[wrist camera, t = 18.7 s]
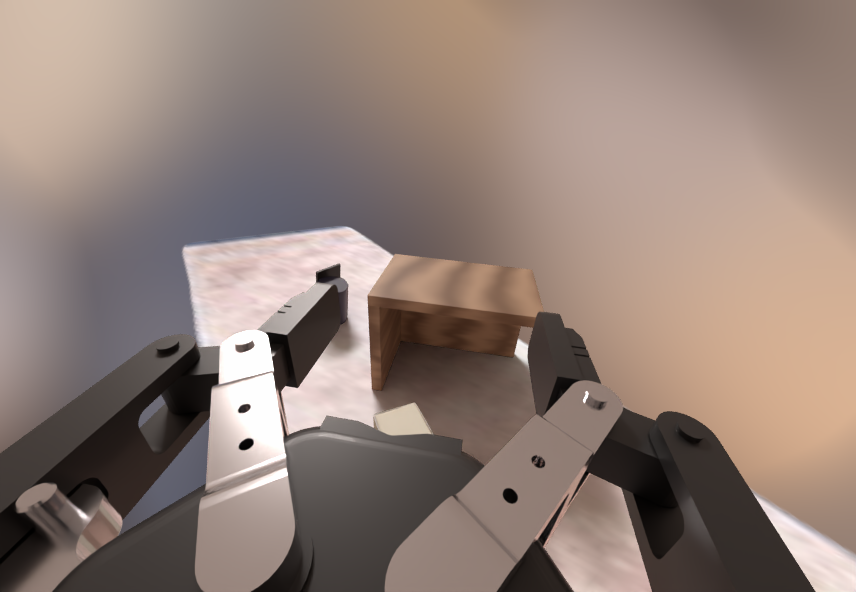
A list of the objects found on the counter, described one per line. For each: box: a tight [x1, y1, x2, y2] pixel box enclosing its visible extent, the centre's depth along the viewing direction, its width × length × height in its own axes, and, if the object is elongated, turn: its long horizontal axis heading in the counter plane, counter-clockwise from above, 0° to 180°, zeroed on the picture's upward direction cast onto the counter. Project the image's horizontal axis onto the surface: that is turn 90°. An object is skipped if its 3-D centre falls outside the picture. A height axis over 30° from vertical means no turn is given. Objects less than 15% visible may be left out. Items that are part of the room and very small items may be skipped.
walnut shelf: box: [368, 254, 544, 391], centre depth 50 cm, size 22×14×16 cm, turn 81°
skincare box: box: [373, 403, 434, 435], centre depth 31 cm, size 6×4×12 cm
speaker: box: [316, 264, 348, 324], centre depth 62 cm, size 8×6×10 cm
